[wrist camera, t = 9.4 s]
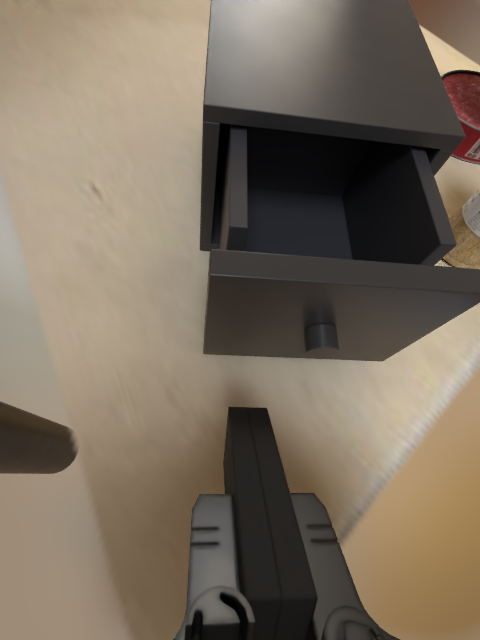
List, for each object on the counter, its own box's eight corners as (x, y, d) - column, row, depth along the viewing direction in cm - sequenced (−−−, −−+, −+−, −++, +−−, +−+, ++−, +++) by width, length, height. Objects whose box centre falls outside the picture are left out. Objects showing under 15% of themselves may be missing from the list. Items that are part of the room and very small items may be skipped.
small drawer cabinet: (365, 262, 26) (466, 136, 16) (199, 250, 24) (203, 104, 15) (340, 134, 32) (403, -12, 22) (207, 118, 30) (214, -45, 21)
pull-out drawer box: (386, 380, 21) (505, 321, 13) (202, 373, 19) (207, 304, 12) (352, 201, 27) (418, 87, 19) (211, 187, 26) (218, 59, 18)
